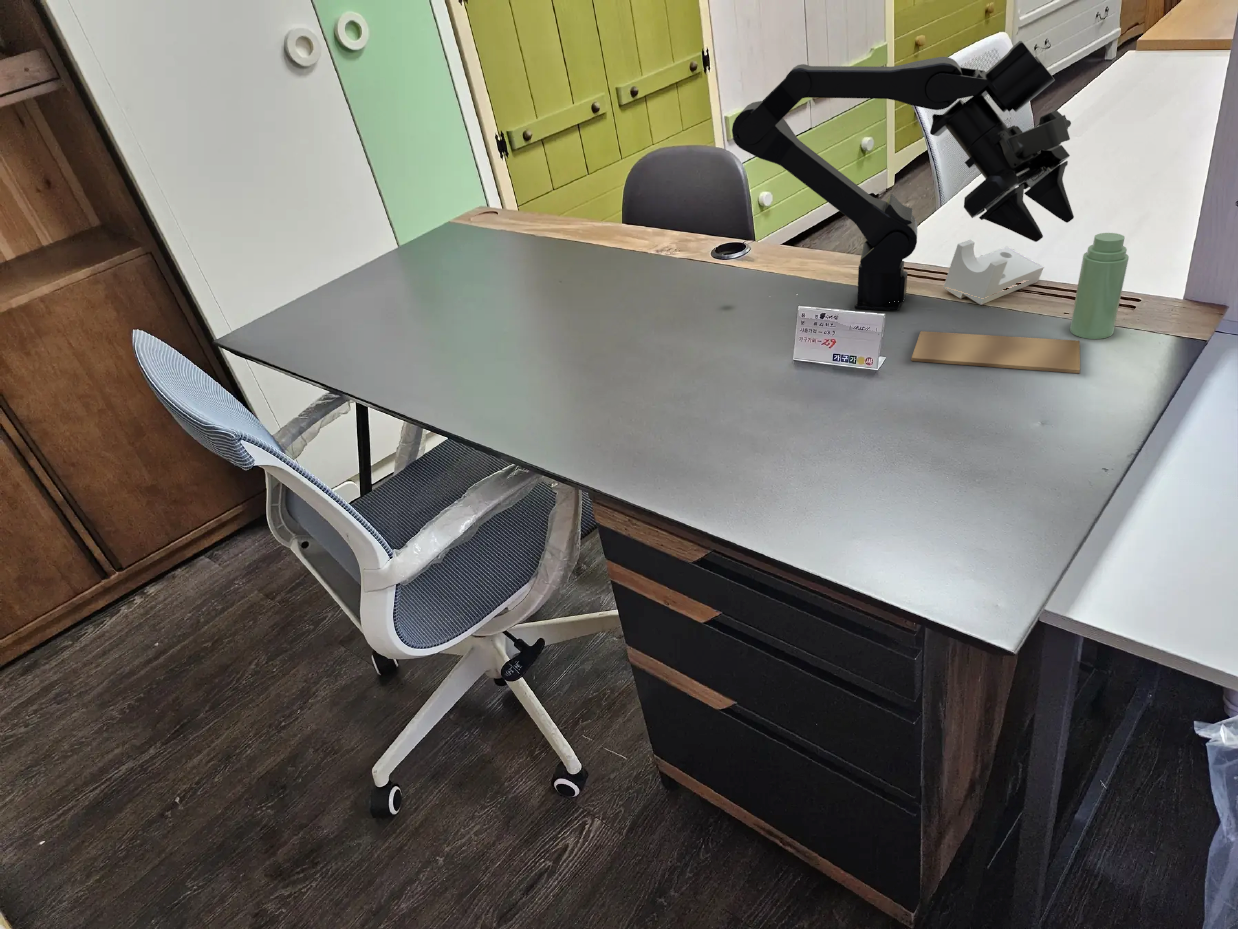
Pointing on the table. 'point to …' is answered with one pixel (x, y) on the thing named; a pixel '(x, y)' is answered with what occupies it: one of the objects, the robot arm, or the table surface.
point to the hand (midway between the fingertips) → (1055, 229)
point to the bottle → (1100, 287)
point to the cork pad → (998, 351)
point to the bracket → (989, 272)
